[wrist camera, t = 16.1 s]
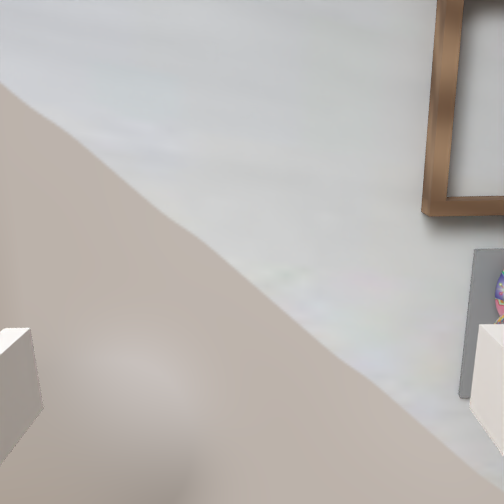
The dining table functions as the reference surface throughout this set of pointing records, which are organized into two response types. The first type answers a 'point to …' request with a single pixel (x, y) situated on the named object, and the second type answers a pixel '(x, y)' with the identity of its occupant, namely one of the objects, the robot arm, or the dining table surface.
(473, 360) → the mat
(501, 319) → the mug
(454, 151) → the dining table surface
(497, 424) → the robot arm
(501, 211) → the frame
